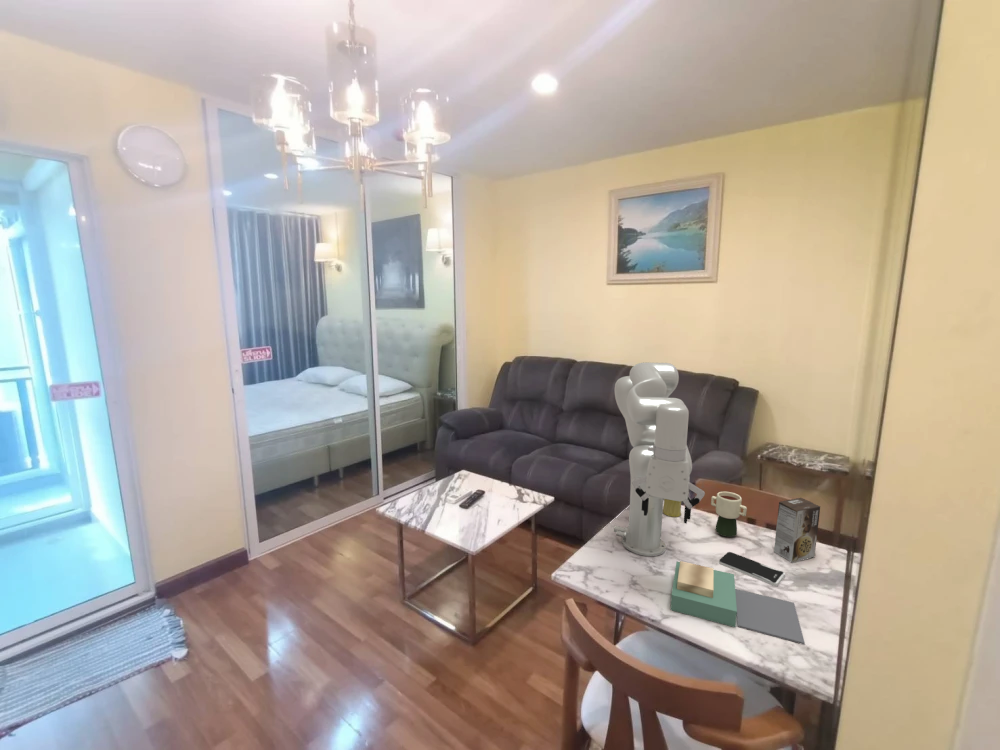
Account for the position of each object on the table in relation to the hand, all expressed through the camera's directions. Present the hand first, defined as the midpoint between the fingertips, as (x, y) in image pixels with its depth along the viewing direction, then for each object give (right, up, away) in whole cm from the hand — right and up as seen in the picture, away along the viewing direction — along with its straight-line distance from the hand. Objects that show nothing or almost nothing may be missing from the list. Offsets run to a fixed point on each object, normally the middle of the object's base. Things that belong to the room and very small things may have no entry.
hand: (665, 517), depth 117 cm
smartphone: (+28, -19, +11) cm, 35 cm away
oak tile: (+7, -16, -2) cm, 17 cm away
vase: (+18, -13, +45) cm, 50 cm away
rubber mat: (+21, -21, -8) cm, 31 cm away
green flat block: (+9, -20, -2) cm, 22 cm away
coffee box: (+45, -17, +18) cm, 51 cm away
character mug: (+30, -15, +30) cm, 46 cm away
